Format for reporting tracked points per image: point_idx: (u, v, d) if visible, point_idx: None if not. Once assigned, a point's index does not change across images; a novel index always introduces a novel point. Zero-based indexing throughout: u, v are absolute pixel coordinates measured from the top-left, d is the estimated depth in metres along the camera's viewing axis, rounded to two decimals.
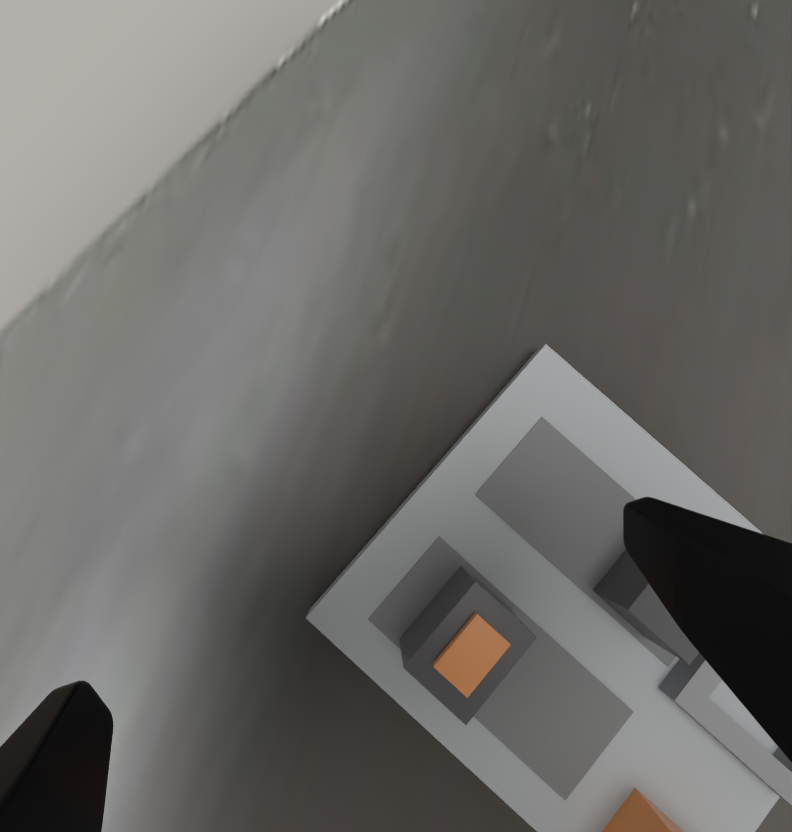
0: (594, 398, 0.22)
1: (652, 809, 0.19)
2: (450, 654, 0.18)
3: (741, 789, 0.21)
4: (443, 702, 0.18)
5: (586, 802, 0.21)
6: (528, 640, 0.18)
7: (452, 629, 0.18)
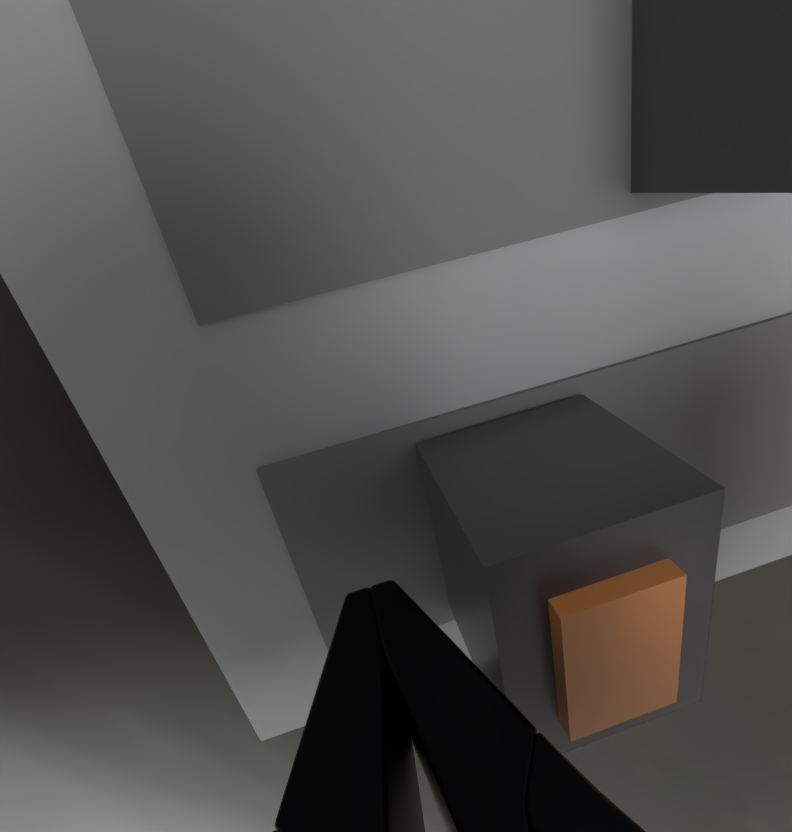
0: None
1: None
2: (580, 703, 0.06)
3: None
4: (634, 724, 0.07)
5: None
6: (708, 509, 0.06)
7: (535, 661, 0.06)
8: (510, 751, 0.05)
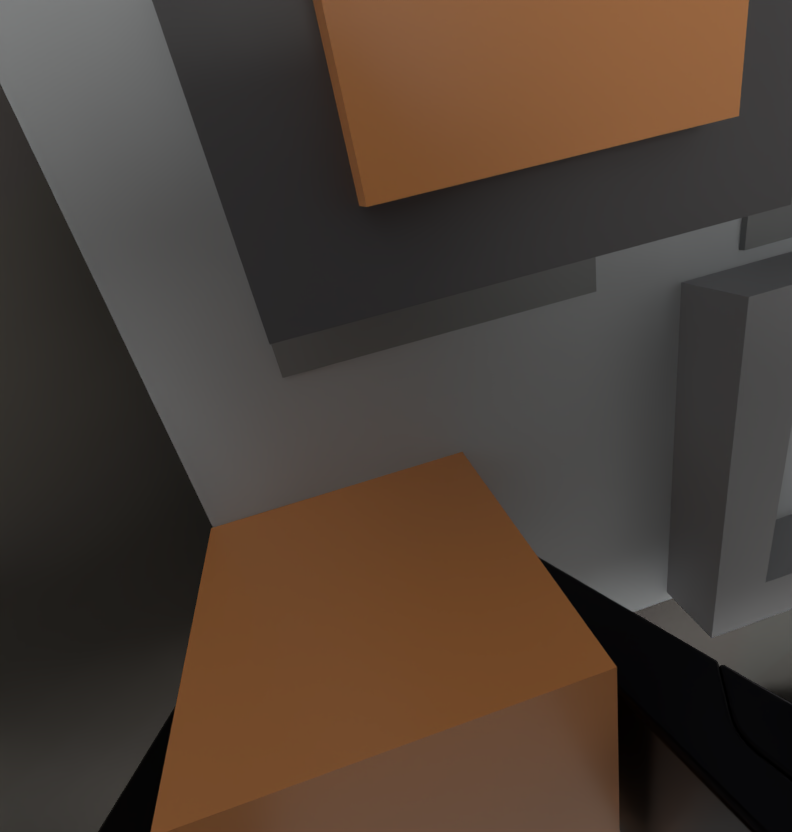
0: None
1: (492, 498, 0.07)
2: None
3: (630, 561, 0.10)
4: (217, 156, 0.03)
5: (334, 416, 0.07)
6: (753, 191, 0.04)
7: None
8: (699, 681, 0.05)
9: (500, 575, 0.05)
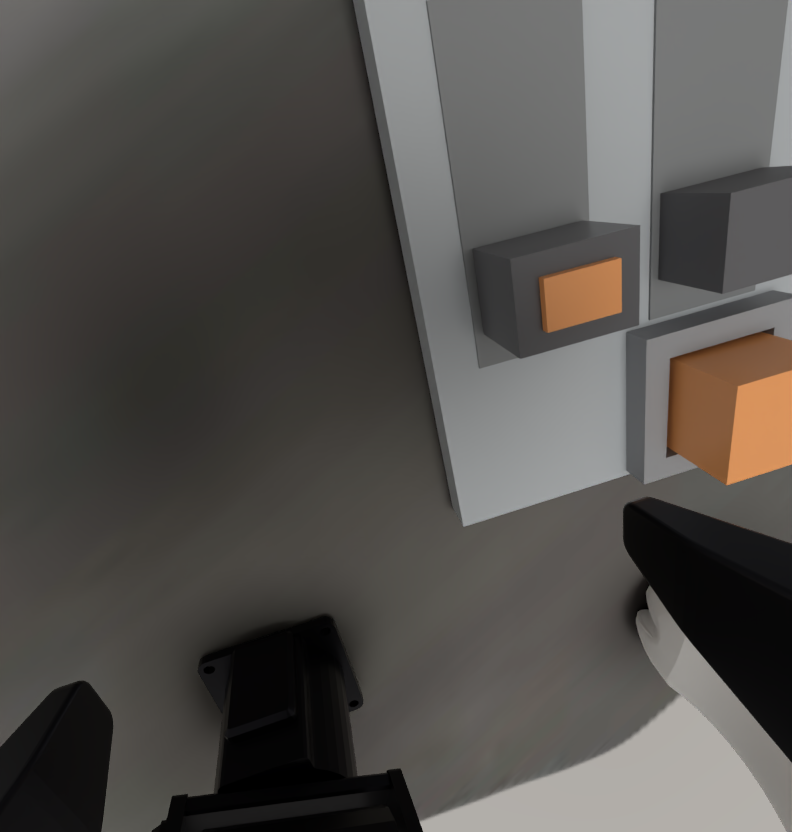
0: None
1: (770, 335, 0.19)
2: (567, 279, 0.14)
3: (608, 453, 0.21)
4: (518, 323, 0.15)
5: (494, 383, 0.19)
6: (629, 322, 0.15)
7: (582, 256, 0.14)
8: None
9: None
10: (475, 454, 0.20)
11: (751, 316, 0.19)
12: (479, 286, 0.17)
